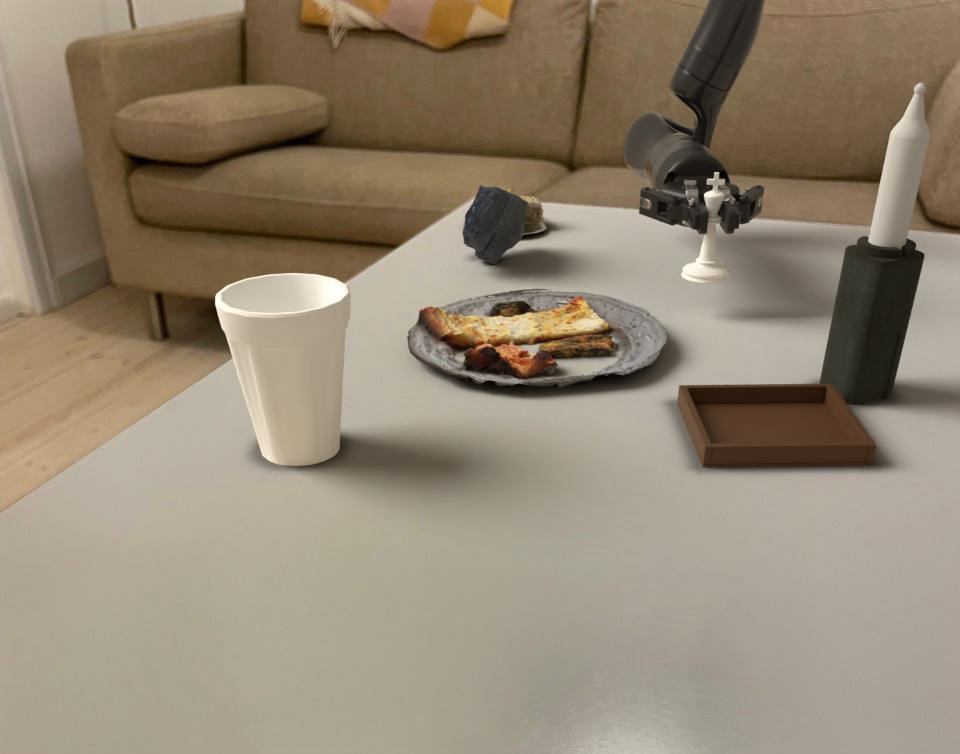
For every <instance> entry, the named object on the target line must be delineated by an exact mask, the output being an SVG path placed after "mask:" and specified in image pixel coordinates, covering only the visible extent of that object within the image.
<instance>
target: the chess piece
mask: <svg viewBox="0 0 960 754" xmlns="http://www.w3.org/2000/svg"><path fill="white" fill-rule="evenodd" d="M707 185H713V190H711V191H708V192H706V193H705V194H704V199H705V203H706V208H707V210H708V211H709V219H708V228H707V234H703V239H702V243H701V248H700V253H699V256H697V258H695V261H693V262H689V263H687V264H685V265H683V267H682V272H681V273H680V276H681V278H683V279H684V280H686V281H689V282H692V283H695V284H697V283H698V284H719V283H723V282H726V281H728V280H729V279H730V278H731V277H730V276H731V275H730V268H729V267H728V266H726V265H724V264H723V263H720V262H719V259H718V258H717V251H716V248H717V247H716V243H717V242H716V240H717V239H716V238H717V237H716V236H717V235H716V232H717V224H716V223H721V222H722V217H720V216H718V214H717V213H718V211H719V209H720V206H721V204H722V201H723V199H724V197H725V194H724V193H723V192H720V191H718V190H717V189H718V185H725V179H719V172H715V173H714V179H707Z"/></svg>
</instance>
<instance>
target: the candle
mask: <svg viewBox="0 0 960 754" xmlns="http://www.w3.org/2000/svg"><path fill="white" fill-rule="evenodd" d="M913 91H914V94H913V96H912V98H911V100H910V102H909V104H908V105H907V108H906V110H905V112H904V114H903V116H902V117H901V119H900V120H899V121H898V122H897V123H896V124H895V126H894V127H893V128H892V129H891V131H890V133H889V137H888V142H887V148H886V152H885V158H884V162H883V166H882V171H881V175H880V181H879V186H878V190H877V196H876V202H875V205H874V209H873V215H872V219H871V225H870V230H869V235H868V236H866V235H863V236H860V237H859V238H857V241H856V243H855V244H849V245H847V246H846V247H845V249H844V255H843V258H842V259H843V260H842V263H841V264H842V265H841V269H840V275H839V280H838V285H837V291H836V295H835V301H834V305H833V311H832V316H831V321H830V326H829V333H828V337H827V342H826V347H825V352H824V357H823V362H822V366H821V367H822V368H821V373H820V377H819V383H818V384H829V383H832V384H833V386H834V387H835V388H836V390H837V391H838V393H839V394H840V395H841V397H842V398H843V399H844V401H845V402H846V404H847V405H848V406H849V405H850V406H862V405H863V404H866V403H871V402H877V401H881V400H884V401H885V400H890V399H891V398H892V394H893V390H894V386H895V383H896V378H897V374H898V370H899V365H900V362H901V358H902V354H903V349H904V345H905V340H906V336H907V333H908V328H909V325H910V321H911V316H912V310H913V308H914V307H913V306H914V303H915V298H916V295H917V290H918V286H919V282H920V278H921V273H922V269H923V266H924V262H925V257H926V255H925V253H924V252H923V251H921V250H918V249H917V243H916V242H915V241H914V240H913V239H911V238H908V235H909V231H910V228H911V222H912V219H913V213H914V209H915V205H916V200H917V196H918V191H919V187H920V183H921V179H922V174H923V169H924V165H925V161H926V156H927V153H928V147H929V143H930V139H931V131H930V128H929V126H928V123H927V121H926V115H925V113H926V112H925V97H924V94H925V93H926V91H927V87H926V84H925V83H923V82H919V83H917V84H916V85H915V86H914V88H913Z"/></svg>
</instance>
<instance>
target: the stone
mask: <svg viewBox="0 0 960 754" xmlns="http://www.w3.org/2000/svg"><path fill="white" fill-rule="evenodd" d="M527 205H528V202H527V201H525V200H523V199H521V197H520V195H517V194H515V193H514V194H512V192H511V191H510V192H508V190H506V189H502V188H500V187H498V186H484V185H481V184H480V185H479V187H478V190H477V193H476V194H475V196H474V199H473V201H472V204H471V205H470V206H469V208H468V210H467V211H466V213H465V214H464V225H463V229H462V232H461V233H462V237H463V244H464V245H465V246H466V247H467V248H470V249H472V250H474V256H475V257H476V258H477V259H478V260H481V261H484V262H485V263H486V264H490V265H494V264H497V263H498V262H499V261H500V260H501V258H502V257H503V256H504V254H505V253H507V251H508V250H510V249H513V248H514V247H515V246H516V245H517V244H518V243H519V242H520V241H522V238H523V235H522V234H523V230H524V219H525V215H526V210H527Z"/></svg>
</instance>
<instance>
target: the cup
mask: <svg viewBox="0 0 960 754" xmlns="http://www.w3.org/2000/svg"><path fill="white" fill-rule="evenodd" d="M214 299H215V301H214V305H215V309H216V312H217V317H218V319H219V320H218V321H219V324H220V327H221V328H220V329H222V331H223V333H224V335H225V338H226V340H227V344H228V347H229V351H230V354H231V357H232V360H233V364H234V367H235V370H236V374H237V377H238V380H239V383H240V386H241V390H242V393H243V397H244V400H245V403H246V406H247V409H248V413H249V416H250V419H251V422H252V425H253V430H254V432H255V436H256V439H257V443H258V445H259V448H260V449H259V450H260V452H261V455H262V457H263V458H265V459H266V460H267V461H268V462H271V463H274V464H275V465H279V466H289V467H301V466H312V465H316V464H319V463H323V462H325V461H327V460H329V459H332V458H333V457H335V456H336V455H337V454H338V452H339V451H340V449H341V447H340V445H341V425H342V407H343V406H342V405H343V389H344V387H343V385H344V369H345V368H344V367H345V349H346V348H345V347H346V330H347V328H348V326H349V325H348V324H349V321H350V319H351V301H352V300H351V299H352V294H351V290H350V287H349V286H348V284H345V283H344V282H343V281H340V280H338V279H337V278H335V277H331V276H325V275H321V274H315V273H299V272H288V273H287V272H286V273H273V274H264V275H259V276H252V277H247V278H244V279H241V280H238V281H235V282H233V283H230V284H227V285H226V286H224V287H223V288H222V289H220V290H219V291H218V292H217V293H216V294H215V298H214Z"/></svg>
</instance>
